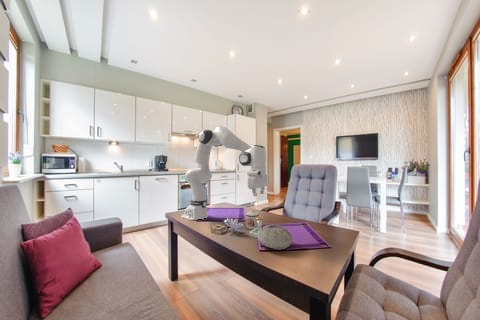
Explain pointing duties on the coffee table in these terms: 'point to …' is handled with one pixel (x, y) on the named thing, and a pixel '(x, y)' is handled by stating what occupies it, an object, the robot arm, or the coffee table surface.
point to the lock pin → (259, 223)
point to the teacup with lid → (252, 219)
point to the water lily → (234, 225)
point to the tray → (254, 233)
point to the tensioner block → (218, 229)
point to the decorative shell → (275, 237)
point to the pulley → (227, 222)
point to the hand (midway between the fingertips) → (258, 195)
